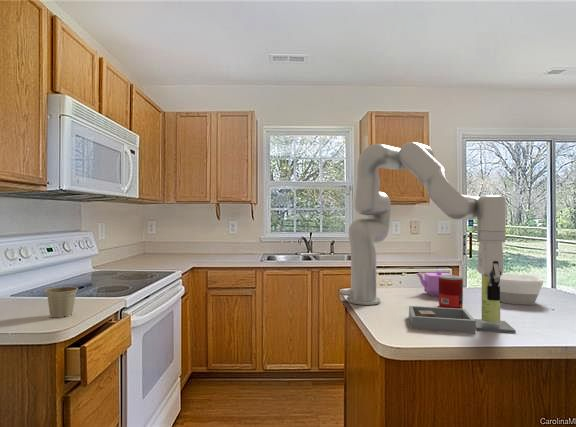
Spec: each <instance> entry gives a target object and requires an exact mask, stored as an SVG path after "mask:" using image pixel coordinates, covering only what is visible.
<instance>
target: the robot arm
mask: <svg viewBox="0 0 576 427" xmlns="http://www.w3.org/2000/svg"><path fill="white" fill-rule="evenodd" d="M356 168H357V176H356V185H355V186H356V187H355V197H354V199H355V200H354V210H355V211H356V212H357V213H358V214H359V215H361V216H368V217H367V218H359V219H356V220H354V221H352V222H351V223H350V225H349V228H348V240H349V244H350V245H349V246H350V288H349V289H339V294H338V295H341V296H342V297H343V296H345V297H346V302H348V303H350V304H353V305H361V306H372V305H378V304H380V303H381V298H380V297H377V252H376V248H375V243H376V244H377V243H381V242H383V241H384V240H385V239H387V237H388V235H389V230H390V220H391V219H390V218H391V210H392V202H391V200H390V198H389V195H388V194H386V192H383V191H380V185H381V179H380V174H379V169H384V170H385V169H386V170H394V171H399V170H400V171H401V170H403V171H404V170H408V171H409V172H410V173H411V174H412V175H413V176H414V178H416V179H417V180H418V181H419V182H420V183H421V184H422V186H424V188H425V191H426V193H427V195H428V197H429V198H430V200H431V201H432V202H433V203H434V204H435V205H436V207H437V208H439V209H440V210H441V211H442V213H444V214H445V216H446V217H448V218H450V219H454V220H464V221H465V220H475V219H476V222H477V223H476V226H477V227H476V242H479V243H478V250H477V252H478V253H477V269H476V270H477V272H478V273H479V274H480V275H481V276H482V275H484V276H487V274H488V283H489V286H487V299H488V300H497V301H499V300H500V276H502V275H503V274H504V249H503V244H504V243H506V242H507V241H506V240H507V239H506V237H507V236H506V235H507V234H506V233H507V232H506V230H507V227H506V225H507V222H506V221H507V217H506V216H507V208H506V207H507V200H506V198H505V197H504V196H503V195H497V194H496V195H493V194H490V195H489V194H488V195H487V194H486V195H481V196H474V195H465V194H461V193H460V192H459V191H458V190H457V189H456V188H455V187H454V186H453V185H452V184H451V183H450V182H449V181H448V180H447V178H446V168H445V167H444V166H443V165H442V164H441V163H440V162H439V161H438V160H437V159H436V158H435V153H434V150H433V149H432V148H431V146H428V145H426V144H424V143H419V142H417V141H416V142H415V141H411V142H410V141H409V142H406V143H404V144H403V145H402V146H401V147H396V146H392V145H388V144H383V143H373V144H370V145H368V146H367V147H365V148H364V149H362V152H361V153H360V155H359V157H358V160H357V167H356ZM490 274H494V275H490ZM491 278H492V281H491Z"/></svg>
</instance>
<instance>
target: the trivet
mask: <svg viewBox="0 0 576 427" xmlns="http://www.w3.org/2000/svg"><path fill="white" fill-rule="evenodd" d="M474 320H475V321H476V332H478V331H481V332H491V333H492V332H494V333H509V334H516V333H517V331H516V329H515V328H513V326H511V325H510V324H509V323H508V322H507V321H505V320H500V322H498V323H491V322H486V321H483V320H482V318H474Z"/></svg>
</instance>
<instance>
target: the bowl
mask: <svg viewBox="0 0 576 427" xmlns="http://www.w3.org/2000/svg"><path fill="white" fill-rule="evenodd" d="M543 284H544V280H543V278H541V277H539V276H535V275H530V274H529V275H528V274H519V273H517V274H514V273H503V275H502V276H500V303H503V304H509V305H518V306H519V305H521V306H533V305H535V303H536V300H537V299H538V296H539V294H540V291H541V289H542V286H543Z"/></svg>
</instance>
